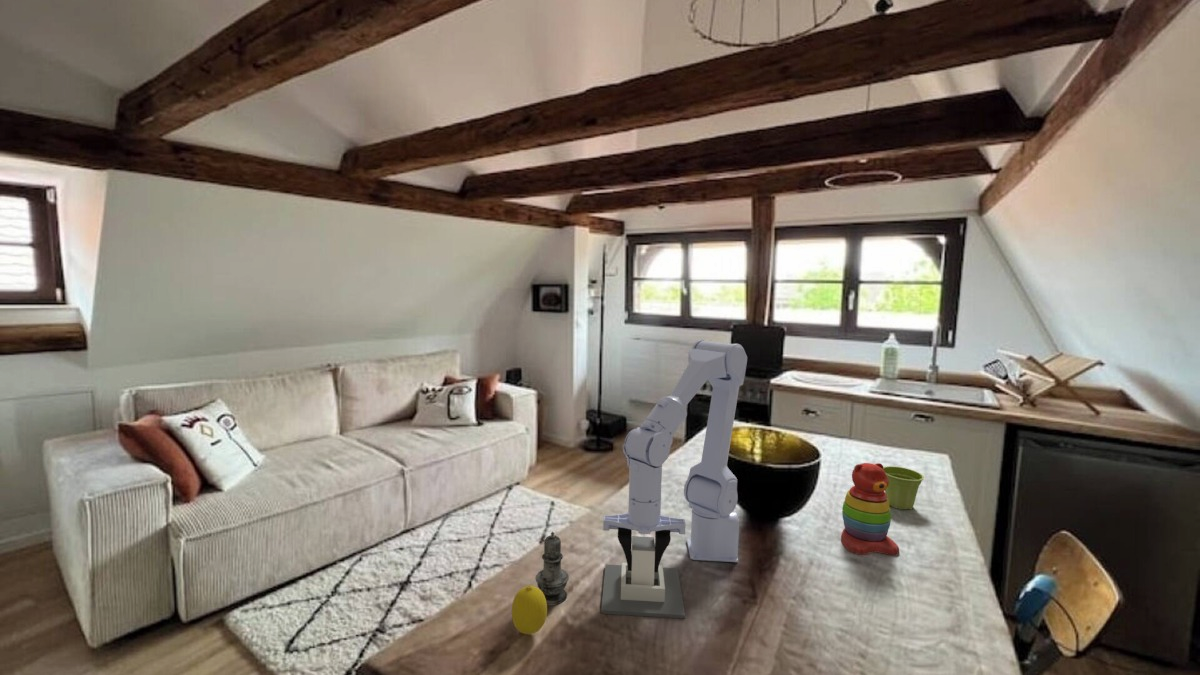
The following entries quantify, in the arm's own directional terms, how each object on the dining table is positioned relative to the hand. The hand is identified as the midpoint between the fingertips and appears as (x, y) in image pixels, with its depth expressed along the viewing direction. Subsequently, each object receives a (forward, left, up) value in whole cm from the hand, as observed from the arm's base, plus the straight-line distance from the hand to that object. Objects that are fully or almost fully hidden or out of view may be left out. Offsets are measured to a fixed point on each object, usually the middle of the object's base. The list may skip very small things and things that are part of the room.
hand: (642, 568), depth 91 cm
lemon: (+18, +13, -4) cm, 23 cm away
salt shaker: (+16, +3, -4) cm, 17 cm away
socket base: (0, 0, -4) cm, 4 cm away
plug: (0, 0, -2) cm, 2 cm away
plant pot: (-67, -43, -5) cm, 80 cm away
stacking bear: (-49, -22, -4) cm, 54 cm away
